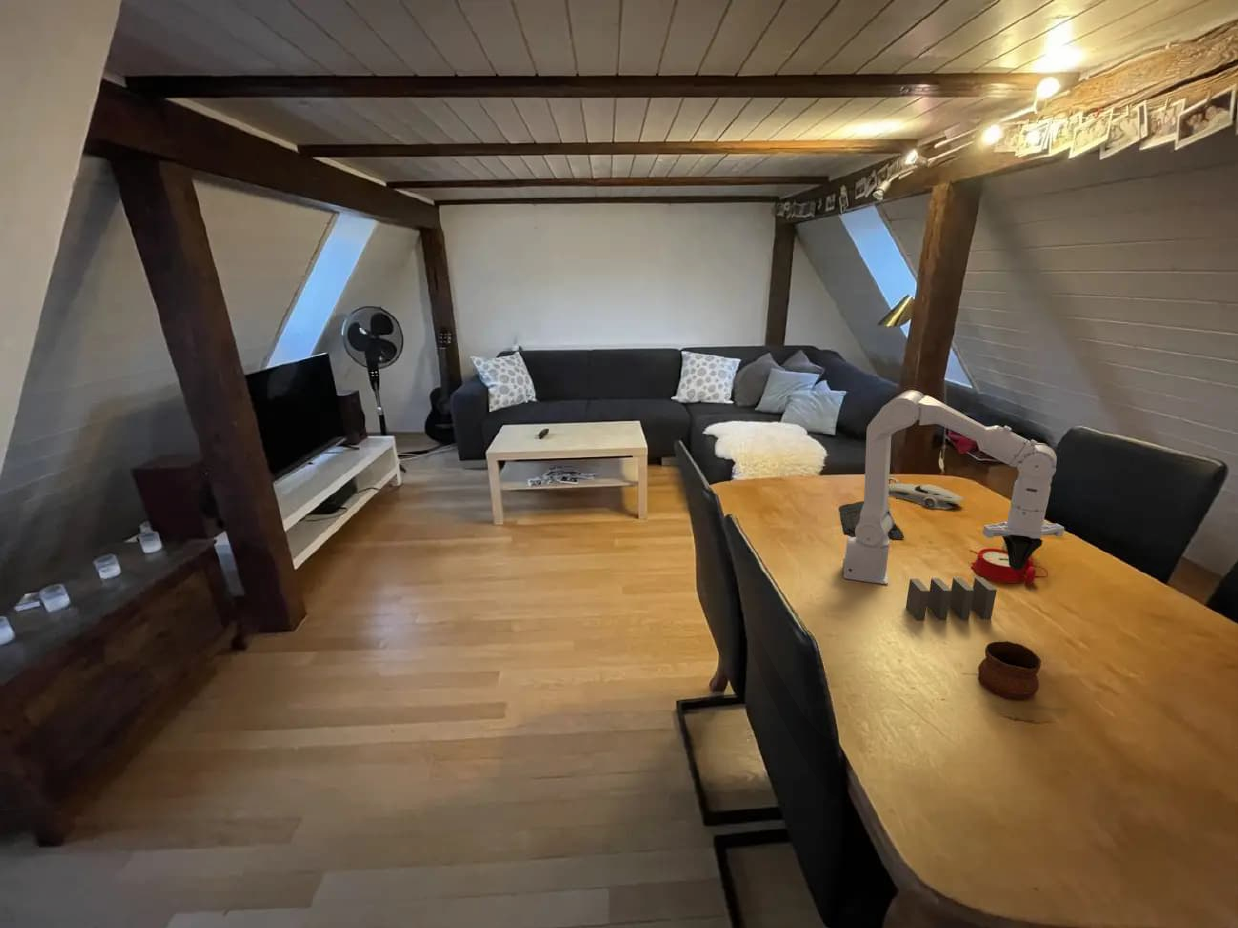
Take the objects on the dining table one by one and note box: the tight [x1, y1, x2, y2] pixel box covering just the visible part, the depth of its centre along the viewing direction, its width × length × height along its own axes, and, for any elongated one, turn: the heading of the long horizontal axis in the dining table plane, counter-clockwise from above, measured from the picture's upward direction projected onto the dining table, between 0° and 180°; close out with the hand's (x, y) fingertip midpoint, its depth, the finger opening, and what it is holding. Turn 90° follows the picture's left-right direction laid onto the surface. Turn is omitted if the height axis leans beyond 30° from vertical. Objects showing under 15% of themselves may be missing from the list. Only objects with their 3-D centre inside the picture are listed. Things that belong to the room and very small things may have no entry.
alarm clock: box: [969, 548, 1049, 586], centre depth 134 cm, size 10×6×15 cm
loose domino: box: [905, 578, 930, 622], centre depth 119 cm, size 2×5×7 cm, turn 179°
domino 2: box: [949, 577, 974, 621], centre depth 119 cm, size 2×5×7 cm, turn 179°
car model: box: [888, 476, 964, 511], centre depth 178 cm, size 11×24×5 cm, turn 43°
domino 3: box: [971, 576, 998, 621], centre depth 119 cm, size 2×5×7 cm, turn 179°
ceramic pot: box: [977, 640, 1052, 725], centre depth 99 cm, size 18×18×7 cm
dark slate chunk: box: [838, 500, 905, 541], centre depth 163 cm, size 15×22×5 cm
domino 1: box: [927, 577, 952, 621], centre depth 119 cm, size 2×5×7 cm, turn 179°
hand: (1015, 567), depth 117 cm, fingers closed
